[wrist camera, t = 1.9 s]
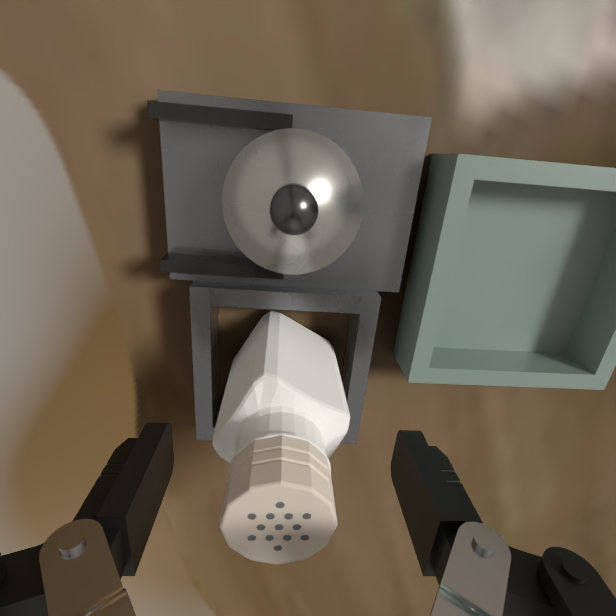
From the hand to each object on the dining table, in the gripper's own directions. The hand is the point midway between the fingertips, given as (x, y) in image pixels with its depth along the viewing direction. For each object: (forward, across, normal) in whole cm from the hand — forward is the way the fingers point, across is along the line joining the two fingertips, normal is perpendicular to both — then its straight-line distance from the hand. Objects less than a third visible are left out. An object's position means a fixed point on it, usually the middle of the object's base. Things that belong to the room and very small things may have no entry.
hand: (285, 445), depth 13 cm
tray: (+6, -10, -5) cm, 13 cm away
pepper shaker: (+6, 0, 0) cm, 7 cm away
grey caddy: (+6, 0, -4) cm, 7 cm away
